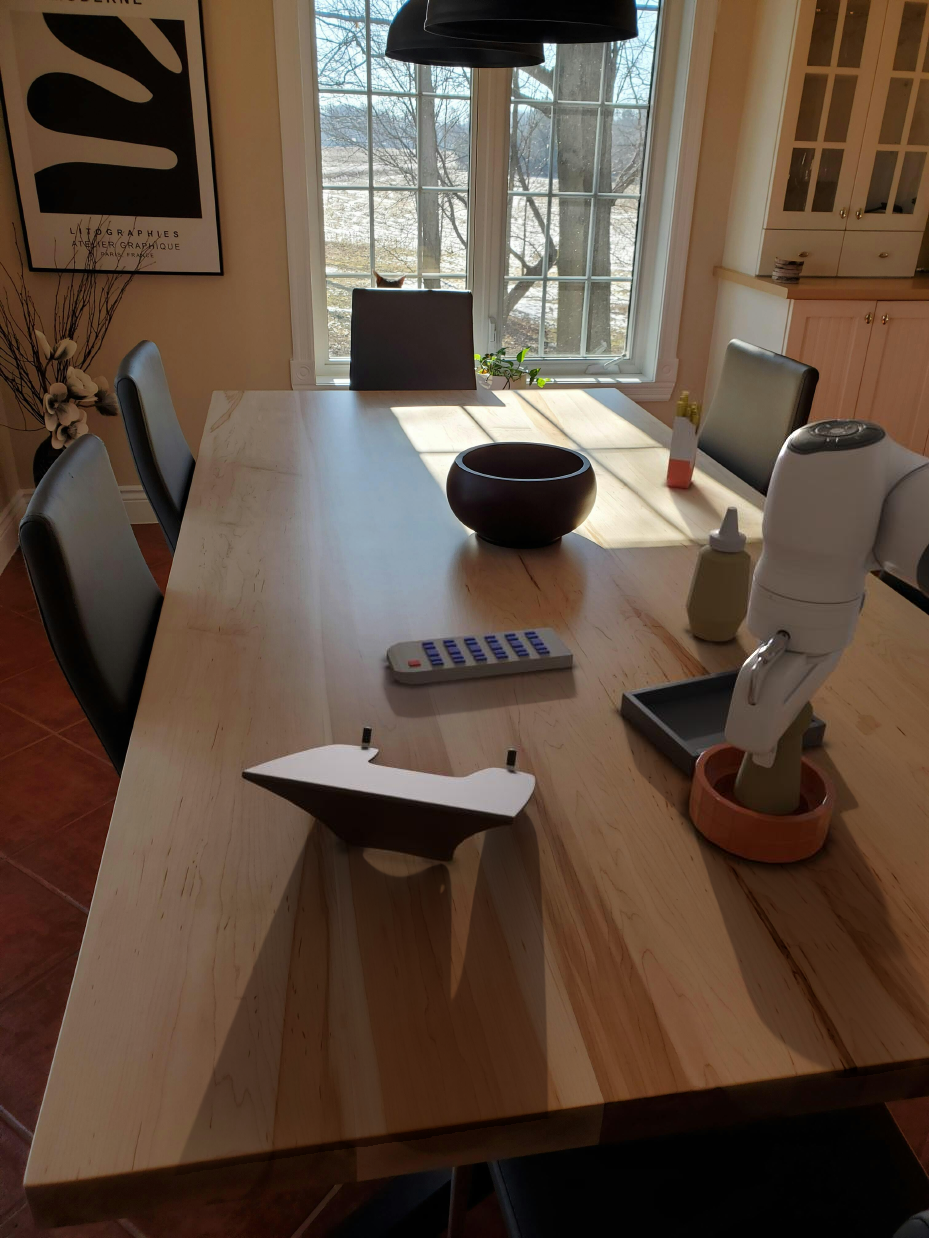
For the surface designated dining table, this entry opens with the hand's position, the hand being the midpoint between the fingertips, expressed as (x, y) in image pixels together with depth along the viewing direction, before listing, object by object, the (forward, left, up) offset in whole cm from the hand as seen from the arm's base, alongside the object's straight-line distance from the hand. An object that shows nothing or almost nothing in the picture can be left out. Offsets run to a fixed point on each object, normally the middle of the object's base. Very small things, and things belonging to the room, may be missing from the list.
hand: (775, 747), depth 83 cm
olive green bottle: (0, 0, -6) cm, 6 cm away
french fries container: (-57, -94, -9) cm, 110 cm away
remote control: (+12, -39, -9) cm, 42 cm away
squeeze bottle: (-21, -35, -9) cm, 42 cm away
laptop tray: (+31, -12, -9) cm, 35 cm away
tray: (-7, -15, -9) cm, 19 cm away
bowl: (0, 0, -9) cm, 9 cm away
